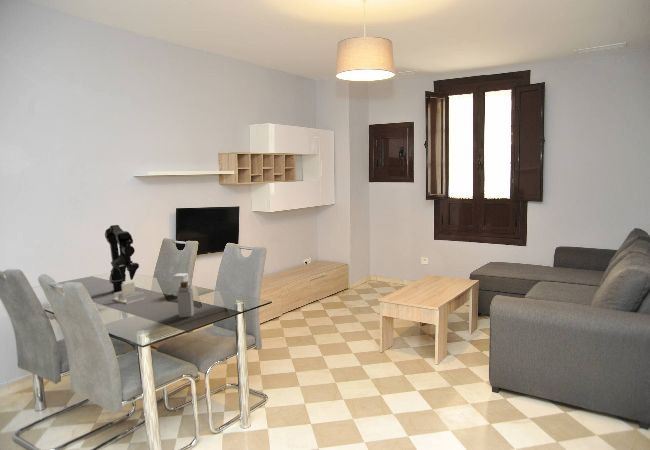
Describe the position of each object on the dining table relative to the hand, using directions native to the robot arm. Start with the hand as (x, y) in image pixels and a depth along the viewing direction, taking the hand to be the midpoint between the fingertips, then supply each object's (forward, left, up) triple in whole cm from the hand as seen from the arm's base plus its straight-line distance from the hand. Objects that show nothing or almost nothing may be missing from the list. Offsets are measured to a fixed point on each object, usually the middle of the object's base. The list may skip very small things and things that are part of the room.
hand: (127, 278), depth 297 cm
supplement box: (+19, +24, -13) cm, 33 cm away
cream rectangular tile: (0, 0, -12) cm, 12 cm away
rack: (0, 0, -13) cm, 13 cm away
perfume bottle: (+55, +1, -13) cm, 56 cm away
